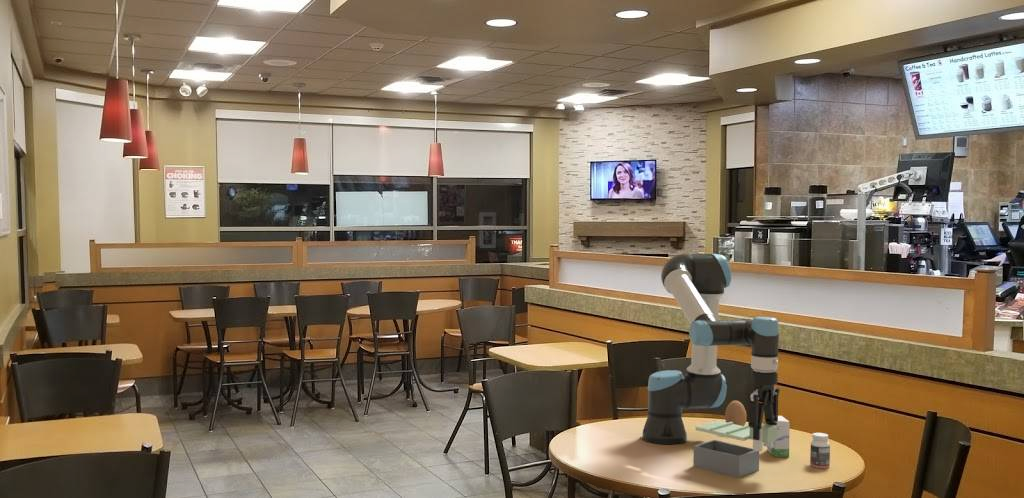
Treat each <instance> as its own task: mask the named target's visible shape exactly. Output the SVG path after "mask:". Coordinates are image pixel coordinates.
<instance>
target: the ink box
mask: <svg viewBox="0 0 1024 498" xmlns="http://www.w3.org/2000/svg"><path fill="white" fill-rule="evenodd" d="M776 423H777V425H773V426H777V440H775V441H773V447H772V448H770V447H766V450H767V451H768V452H769V454H771V455H772V456H773V457H774V458H789V457H790V425H791V424H790V421H789V420H788V419H786V418H785V417H784V416H783V415H778V421H777V422H776Z"/></svg>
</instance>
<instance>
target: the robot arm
mask: <svg viewBox="0 0 1024 498" xmlns="http://www.w3.org/2000/svg"><path fill="white" fill-rule="evenodd" d="M731 271H732V270H731V266H730V264H729V261H728V259H727V258H726V256H724V255H723V254H719V253H680V254H676V255H674V256H672V257H671V258H670V259H668V260H667V261H666V262H665V264H664V266H663V268H662V270H661V276H660V277H661V278H660V279H661V283H662V285H663V287H664V289H665V291H667V292H668V293H669V294H671V295H672V297H673V298H674V300H675V301H676V303H677V304H678V306H679V308H680V309H681V311H682V313H683V314H684V316H685V317H686V319H687V321H688V323H689V324H690V325H689V331H688V334H689V337H690V338H689V339H690V342H691V364H690V365H689V366H687V368H686V373H685V374H683V372H682V371H681V370H677V369H675V370H670V369H667V370H660V371H656V372H654V373H652V374H650V375H649V378H648V384H647V385H648V386H647V418H646V421H645V424H644V427H643V429H642V439H643V440H644V441H646V442H648V443H653V444H657V445H658V444H659V445H679V444H682V443H686V441H687V440H688V438H687V437H688V436H687V431H686V428H685V424H684V420H683V415H682V414H683V409H684V410H685V409H711V408H718V407H720V406H721V405H722V404H723V403H724V401H725V399H726V396H727V386H728V385H727V384H726V383H727V380H726V377H725V376H724V374H722V372H721V369H720V368H719V367H718V366H717V363H718V362H717V361H718V359H717V357H718V346H743V345H744V346H750V347H751V353H750V355H751V356H750V359H751V360H750V368H751V370H750V382H751V383H752V384H753V385H754V387H753V392H752V393H748V394H747V397H748V424H747V425H748V426H749V428H750V427H751V428H753V440H752V448H753V450H757V451H759V452H763V448H764V447H766V448H767V447H770V448H772V447H773V442H770V443H765V442H763V429H761V426H762V424H763V419H764V422H765V423H764V424H767V425H772V426H773V425H777V423H776V422H777V421H778V416H779V395H780V388H776V387H775V385H777V384H778V380H779V379H778V375H779V373H778V371H777V370H778V368H779V365H778V364H779V359H778V358H779V357H778V356H779V337H780V335H779V334H780V329H779V319H778V318H776V317H773V316H755V317H753V318H752V319H751V318H743V317H742V318H739V319H731V320H730V319H729V320H727V319H725V320H723V319H722V320H721V319H720V320H719V312H720V311H719V310H720V298H721V297H722V296H723V295H724V294H725V289H726V288H729V286H730V285H731V282H732V272H731Z"/></svg>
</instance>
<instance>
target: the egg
mask: <svg viewBox="0 0 1024 498" xmlns="http://www.w3.org/2000/svg"><path fill="white" fill-rule="evenodd" d="M724 422H726V423H728V422H733V424H736V425H740V426H746V423H747V411H746V409H745V406H744V404H742V402H740V401H739V400H732V401H730V403H729V404H728V405H727V406H726V409H725V413H724Z"/></svg>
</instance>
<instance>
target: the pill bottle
mask: <svg viewBox="0 0 1024 498" xmlns="http://www.w3.org/2000/svg"><path fill="white" fill-rule="evenodd" d="M811 437H812V440H811V441H810V457H809V458H810V459H809V461H810V463H809V464H810V466H811V467H814V468H815V469H816V468H817V469H827V468H830V464H831V463H830V462H831V444H830V442H829V434H827V433H825V432H824V433H823V432H812V436H811Z"/></svg>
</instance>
